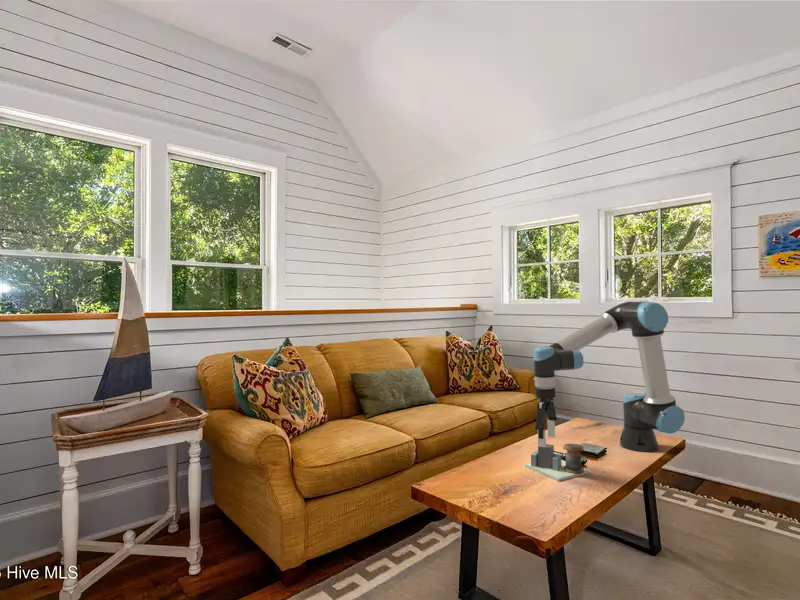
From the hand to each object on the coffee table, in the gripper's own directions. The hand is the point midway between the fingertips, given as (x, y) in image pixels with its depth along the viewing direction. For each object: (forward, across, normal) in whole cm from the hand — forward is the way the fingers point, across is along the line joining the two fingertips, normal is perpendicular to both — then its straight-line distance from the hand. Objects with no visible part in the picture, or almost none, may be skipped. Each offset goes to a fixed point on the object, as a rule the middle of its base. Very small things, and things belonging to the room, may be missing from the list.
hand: (546, 441), depth 185 cm
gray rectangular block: (+10, 0, 0) cm, 10 cm away
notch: (+10, 0, 0) cm, 11 cm away
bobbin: (+11, 0, +10) cm, 14 cm away
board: (+10, 0, +3) cm, 11 cm away
